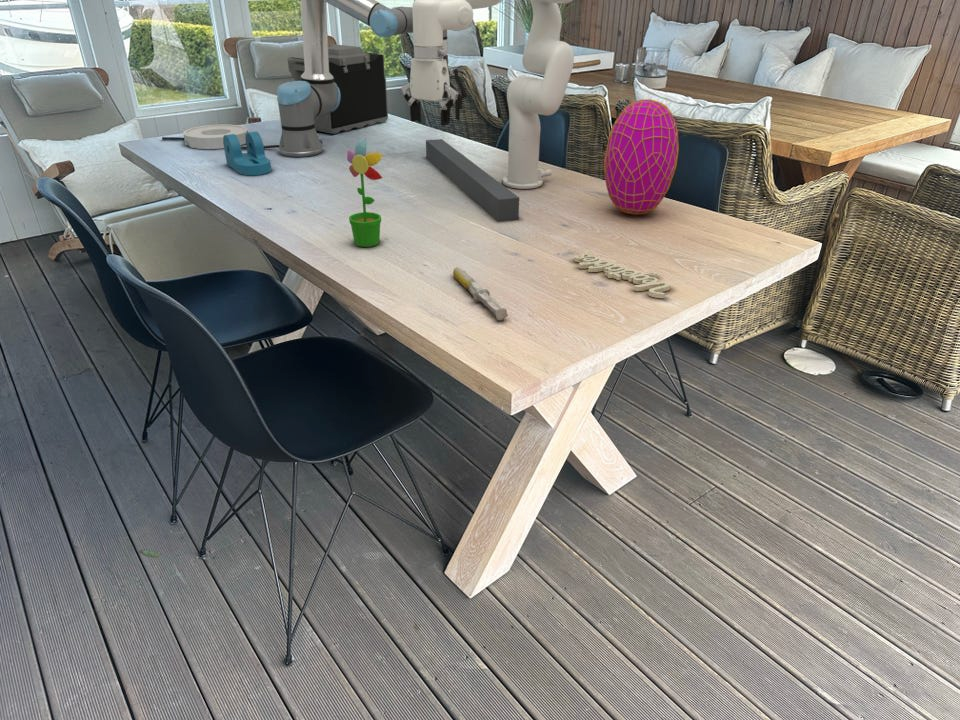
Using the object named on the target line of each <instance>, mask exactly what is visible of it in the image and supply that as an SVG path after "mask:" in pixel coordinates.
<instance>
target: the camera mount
mask: <svg viewBox="0 0 960 720" xmlns="http://www.w3.org/2000/svg"><path fill="white" fill-rule="evenodd" d="M245 139H246V144H245V147H247V149H246V152H243V151H242V150H243V149H241V147H242V145H240V142H239V140H238V138H237V136H236V135H235V134H230V135H224V137H223V144H224V148H223V149H224V150H223V151H224V156H225V161H226V165H227V166H228V167H230V168H231V169H232V170H234V171H236V172H237V173H238V174H239V175H244V176H260V175H265V174H268V173H271V172H272V164H271V159H270V158H268V157H267V156H266V153H265V149H264V146H265V145H264V141H263V139H262V136H261V134H260V132H258V131H248V132H247V133H246V137H245Z"/></svg>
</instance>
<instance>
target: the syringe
mask: <svg viewBox="0 0 960 720" xmlns="http://www.w3.org/2000/svg"><path fill="white" fill-rule="evenodd" d="M452 274H453V277H454V279H455V280H457V281H458V282H459V283H460V285H462V287H464V289H466V290H467V291H468V293H470V295H471V296H472V298H473V300H474V302H477V303H478V302H480V303H482V304H483V305H484V306H485V307H486V308H487V309H488V310H489V311H490V312H491V313H492V314H493V315H494V316H495V317H496V320H497V321H503V320H504V319H506V318H507V317H509V314H508V310H507V308H506V307H502V306H501V305H500V303H498V302H497V301H496V300H494V299H493V298H492V297H491V296H490V295H491V293H490V290H488V289H486V288H483V287H482V286H481V285H480V284H479V283H478V282H477V281H476V280H474V278H473V277H471V275H469V274H468V273H467V272H466V270H465V269H464V268H463V267H462V266H456V267H454V268H453V271H452Z"/></svg>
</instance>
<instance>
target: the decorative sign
mask: <svg viewBox="0 0 960 720" xmlns="http://www.w3.org/2000/svg"><path fill="white" fill-rule="evenodd" d="M574 262H575V263H578V269H588V270H587V272H588V273H598V272H603V273H604V276H606V277H607V278H608V279H614V280H617V281H621V279H622V280H627V281H628V282H630V283H633V284H634V285H633V291H636V292H643V291H647V290H648V293H647V294H648V296H649V297H652V298H656V299H664V298H665V295H666V292H668V291H669V290H670V289H671V283H670V282H668V281H659V279H658V272H657V271H648V272H639V271H637V270H634V269H630V268H628V267H627V266H626V267H625V266H624V265H619V264H618V263H615V262H611V261H610V260H604V258H601V257H598V256H596V255H592V254H590V253H587V252H586V253H582V254H581V255H580V256H578V255H575V256H574Z"/></svg>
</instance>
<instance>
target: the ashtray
mask: <svg viewBox="0 0 960 720" xmlns="http://www.w3.org/2000/svg"><path fill="white" fill-rule="evenodd" d="M247 132H249V129H248V127H246V126H244V125H240V124H227V123H226V124H225V123H223V124H207V125H200V126H194V127H190V128H188V129H186V130H184V131H183V132H182V133H183V138H184V140H183V141H184V144H185V146H186V147H189V148H191V149H199V150H219V149H220V150H221V149H224V144H223V137H224V135H230V134H235V135H236V136H237V138H238V140H239V142H240V146H244V145H246V139H245V137H246V133H247Z"/></svg>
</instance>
